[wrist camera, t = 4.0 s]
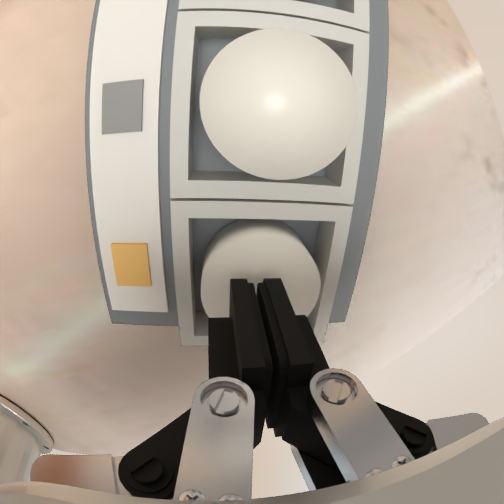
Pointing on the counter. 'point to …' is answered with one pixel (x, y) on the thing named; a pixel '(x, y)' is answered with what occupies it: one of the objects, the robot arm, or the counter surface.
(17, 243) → the counter surface
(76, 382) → the counter surface
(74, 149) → the counter surface
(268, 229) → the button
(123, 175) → the panel
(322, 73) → the button middle
